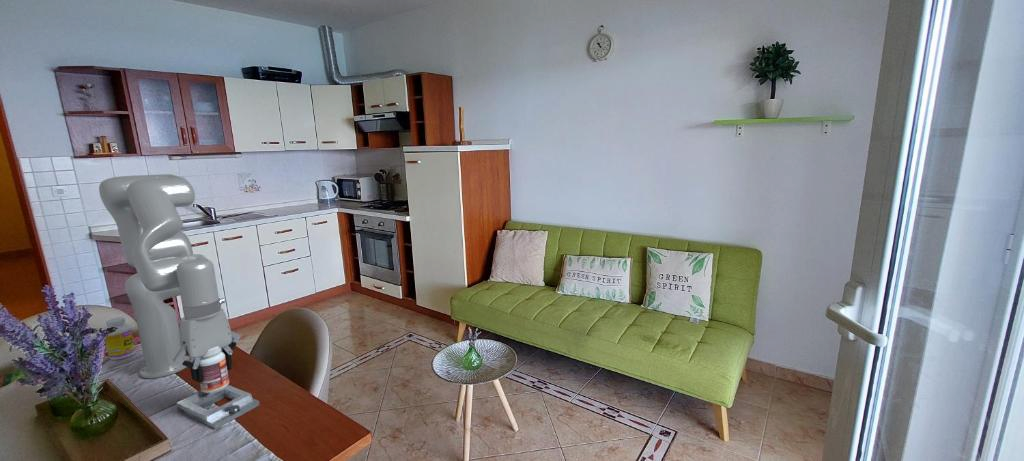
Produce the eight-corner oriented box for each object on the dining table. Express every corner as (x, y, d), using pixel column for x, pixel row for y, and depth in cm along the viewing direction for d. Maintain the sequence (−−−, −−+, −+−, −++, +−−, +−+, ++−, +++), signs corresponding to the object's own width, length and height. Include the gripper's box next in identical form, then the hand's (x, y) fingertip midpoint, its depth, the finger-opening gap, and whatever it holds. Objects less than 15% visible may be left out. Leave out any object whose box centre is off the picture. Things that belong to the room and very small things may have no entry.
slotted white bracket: (178, 411, 111) (176, 399, 111) (222, 389, 121) (220, 379, 120) (215, 429, 104) (213, 417, 103) (259, 405, 113) (257, 394, 113)
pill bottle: (229, 388, 110) (223, 347, 108) (200, 396, 107) (193, 354, 105) (229, 378, 115) (223, 339, 113) (201, 385, 112) (194, 345, 110)
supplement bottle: (128, 359, 141) (120, 322, 138) (104, 362, 139) (96, 325, 137) (140, 350, 147) (133, 315, 145) (117, 352, 146) (110, 317, 143)
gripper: (229, 296, 116) (238, 357, 120) (153, 318, 101) (167, 388, 105) (245, 300, 113) (255, 362, 116) (170, 324, 98) (183, 395, 101)
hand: (213, 374), depth 110 cm, fingers closed on pill bottle, 6 cm apart
